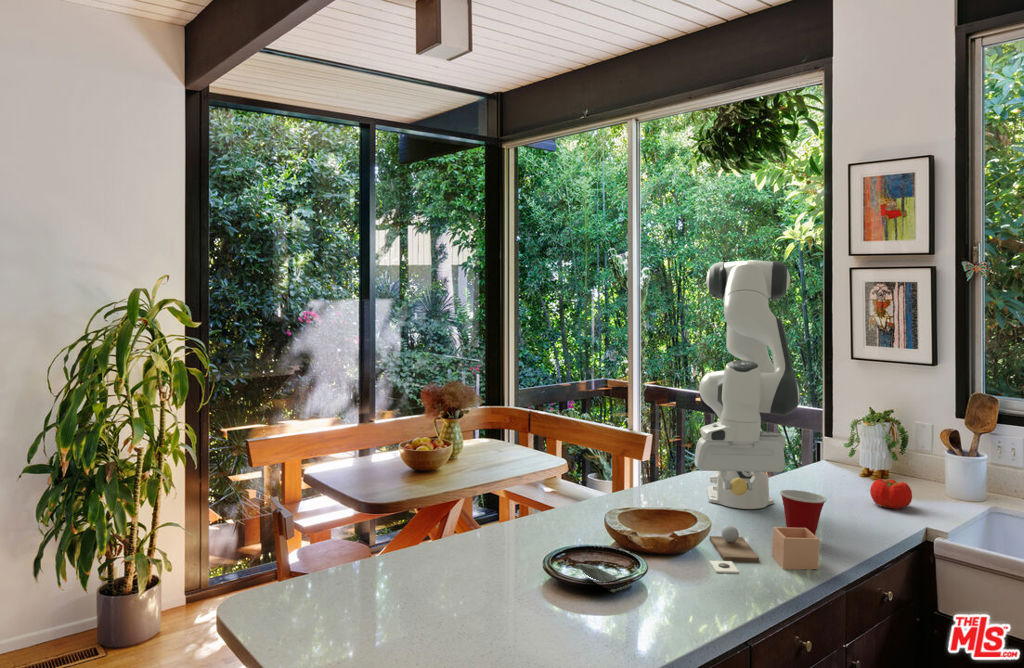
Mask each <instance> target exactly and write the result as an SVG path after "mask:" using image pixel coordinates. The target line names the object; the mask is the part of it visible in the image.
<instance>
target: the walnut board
mask: <svg viewBox="0 0 1024 668" xmlns="http://www.w3.org/2000/svg"><path fill="white" fill-rule="evenodd" d="M709 541H710V543H711V544H712V546H713V547H714V549H715V551H716V552H717V554H718V555H719V557H721V559H722V561H732V562H740V563H742V562H743V563H744V562H745V563H759V562H760V557H759V556H758V555H757V553H756V552H755V551H754V549H752V547H751V546H750V545H749V543H748V542H747V541H746V540H745V539H744V537H742V536H739V537H738V539H737V540H736V541H735V542H732V543H730V542H727V541H725V540H724V539H723V537H722V535H721V536H720V535H719V536H715V535H711V536H710V535H709Z"/></svg>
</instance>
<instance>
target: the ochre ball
mask: <svg viewBox="0 0 1024 668" xmlns="http://www.w3.org/2000/svg"><path fill="white" fill-rule="evenodd" d="M730 487H731V491H732V493H734V494H735V495H743V494H745V493H746V491H747V488H748V486H747V483H746V481H745V480H743V479H741V478H735V479H733V480H732V481H731V486H730Z"/></svg>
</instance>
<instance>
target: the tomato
mask: <svg viewBox="0 0 1024 668" xmlns="http://www.w3.org/2000/svg"><path fill="white" fill-rule="evenodd" d="M869 493H870V494H869V495H870V496H871V499H872V500H873V502H874V503H875V504H876V505H878V506H880V507H882V508H889V509H895V510H898V509H902V508H904V507H908V506H910V505H911V503H912V501H913V492H912V489H911V487H910V486H909V485H908V483H907V482H903V481H896V480H895V479H887V478H885V480H884V479H882V478H880V479H879V478H878V479H876V480H874V481H873V482H872V484H871V486H870V489H869Z"/></svg>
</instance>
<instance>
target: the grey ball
mask: <svg viewBox="0 0 1024 668" xmlns="http://www.w3.org/2000/svg"><path fill="white" fill-rule="evenodd" d="M721 536H722V537H723V539H724V540H725V541H727V542H730V543H732V542H735V541H736V540H737V539H738V537H740V533H739V530H738V528H737V527H736V526H733V525H726V526H724V527H723V528H722V529H721Z"/></svg>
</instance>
